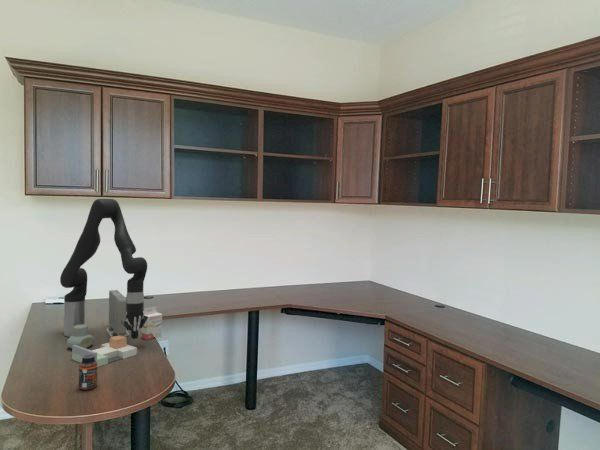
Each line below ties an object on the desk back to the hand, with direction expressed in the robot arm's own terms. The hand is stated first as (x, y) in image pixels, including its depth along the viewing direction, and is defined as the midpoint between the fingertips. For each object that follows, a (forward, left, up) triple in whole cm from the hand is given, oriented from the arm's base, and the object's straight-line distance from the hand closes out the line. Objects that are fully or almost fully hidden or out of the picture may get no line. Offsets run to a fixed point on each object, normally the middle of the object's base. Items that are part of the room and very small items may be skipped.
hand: (134, 338), depth 195 cm
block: (0, -8, -2) cm, 9 cm away
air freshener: (-20, -14, -5) cm, 25 cm away
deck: (0, -14, -4) cm, 15 cm away
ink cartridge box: (-7, +15, -5) cm, 17 cm away
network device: (-28, +10, -5) cm, 30 cm away
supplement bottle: (+23, -36, -5) cm, 43 cm away
